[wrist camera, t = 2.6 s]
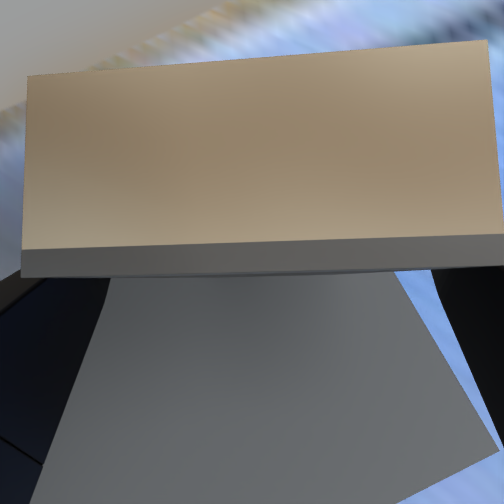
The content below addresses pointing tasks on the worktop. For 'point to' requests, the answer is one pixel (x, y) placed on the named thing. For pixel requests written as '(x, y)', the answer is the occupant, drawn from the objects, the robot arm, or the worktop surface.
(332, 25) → the worktop surface
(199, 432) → the mat
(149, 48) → the worktop surface
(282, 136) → the tan wooden block
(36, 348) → the robot arm
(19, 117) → the worktop surface
